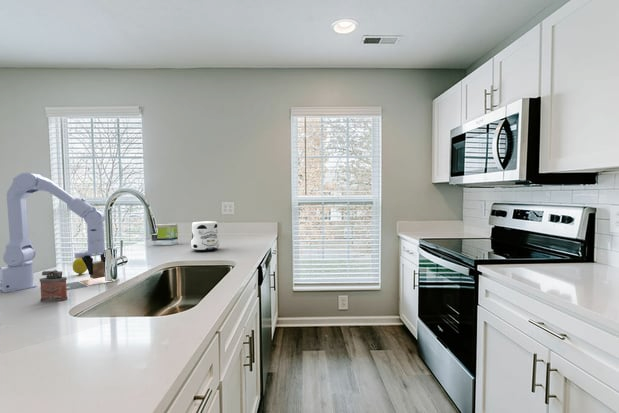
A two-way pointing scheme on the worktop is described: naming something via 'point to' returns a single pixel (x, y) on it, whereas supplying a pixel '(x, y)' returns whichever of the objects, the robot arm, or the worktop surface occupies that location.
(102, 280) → the tile
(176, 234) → the tea box
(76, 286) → the mat
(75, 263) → the lemon
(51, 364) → the worktop surface
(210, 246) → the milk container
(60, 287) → the lighter
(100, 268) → the walnut block
